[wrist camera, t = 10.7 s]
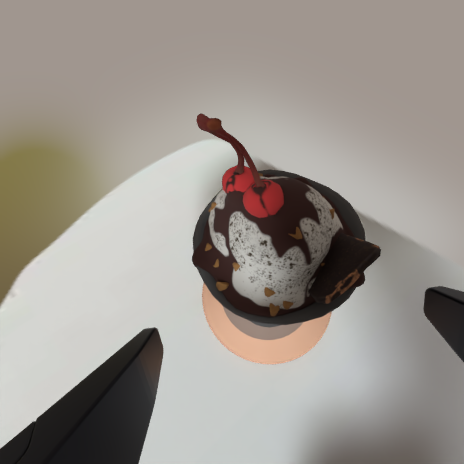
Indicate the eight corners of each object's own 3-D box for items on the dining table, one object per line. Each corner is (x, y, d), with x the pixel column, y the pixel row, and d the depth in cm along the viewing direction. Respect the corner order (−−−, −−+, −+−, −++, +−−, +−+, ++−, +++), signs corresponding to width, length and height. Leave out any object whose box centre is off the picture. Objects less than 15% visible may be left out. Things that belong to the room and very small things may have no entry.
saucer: (357, 324, 17) (362, 322, 17) (236, 390, 16) (234, 392, 15) (286, 220, 22) (287, 215, 21) (187, 267, 21) (184, 264, 20)
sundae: (216, 263, 20) (132, 77, 6) (295, 245, 20) (370, 25, 6) (232, 349, 17) (131, 334, 3) (324, 328, 17) (585, 231, 3)
